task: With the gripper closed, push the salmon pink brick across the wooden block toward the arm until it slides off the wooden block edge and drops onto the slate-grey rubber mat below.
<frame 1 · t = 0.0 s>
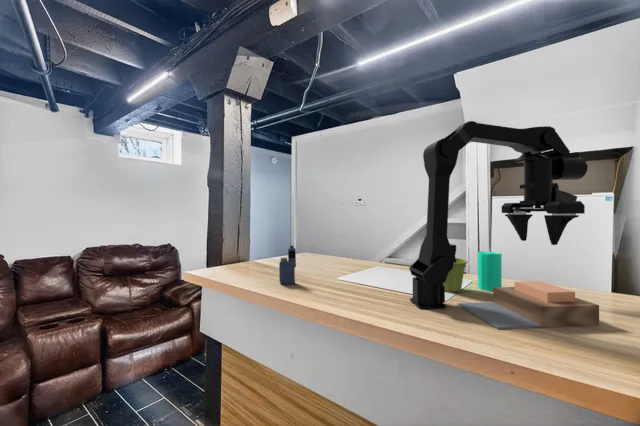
hand: (538, 242, 71), 15 cm above the counter, tool pointing down, fingers open, 9 cm apart
plant pot: (449, 290, 82), on the counter
wooden block: (540, 313, 63), on the counter
candle: (489, 289, 83), on the counter
salmon pink brick: (542, 295, 63), point 4 cm above the counter, touching wooden block
mat: (494, 314, 62), on the counter
vaping device: (287, 284, 90), on the counter
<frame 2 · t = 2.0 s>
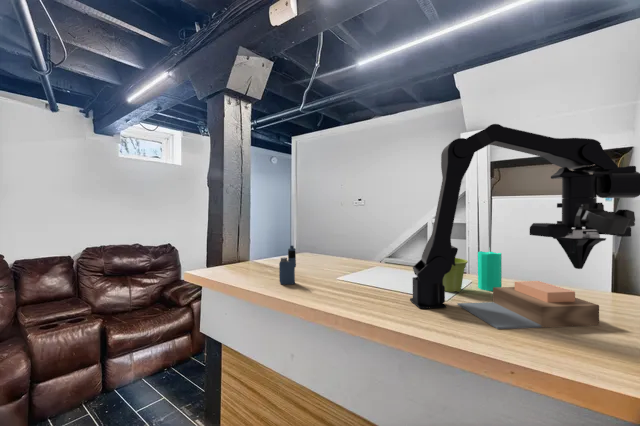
hand: (578, 268, 63), 10 cm above the counter, tool pointing down, fingers closed
nothing on the counter moved.
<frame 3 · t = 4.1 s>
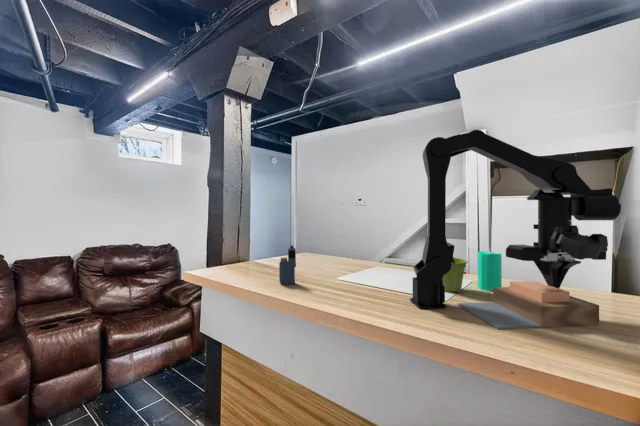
hand: (554, 290, 63), 5 cm above the counter, tool pointing down, fingers closed
salmon pink brick: (537, 295, 63), point 4 cm above the counter, touching gripper
everything else where it was.
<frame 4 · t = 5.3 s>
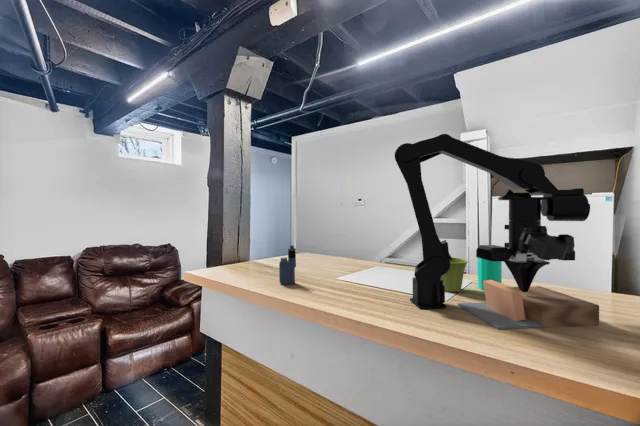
hand: (523, 291, 62), 5 cm above the counter, tool pointing down, fingers closed
salmon pink brick: (507, 298, 62), point 4 cm above the counter, tilted 99°, touching mat
everything else where it was.
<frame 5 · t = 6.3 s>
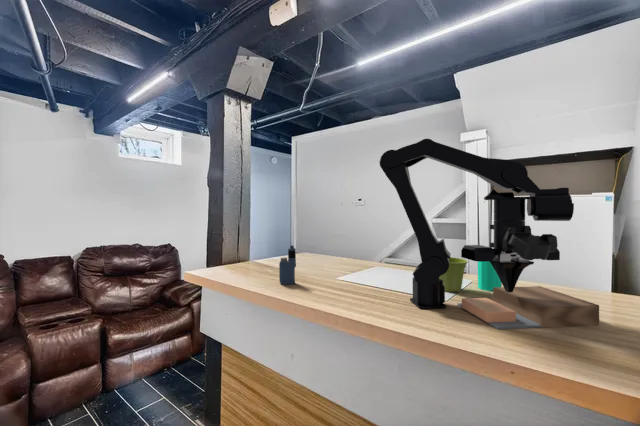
hand: (508, 291, 62), 5 cm above the counter, tool pointing down, fingers closed
salmon pink brick: (486, 304, 62), point 2 cm above the counter, tilted 180°, touching mat
everything else where it was.
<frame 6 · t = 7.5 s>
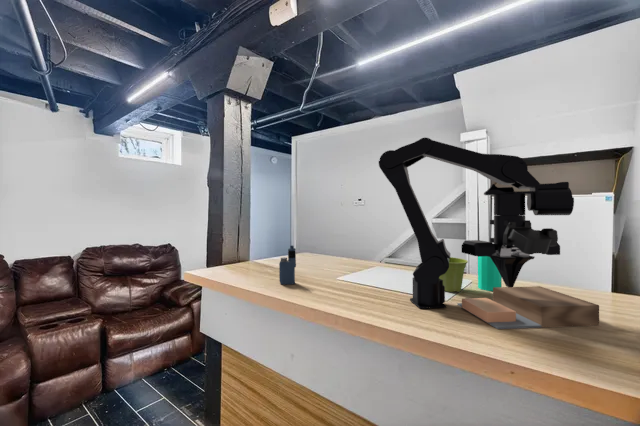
hand: (509, 286, 62), 6 cm above the counter, tool pointing down, fingers closed
nothing on the counter moved.
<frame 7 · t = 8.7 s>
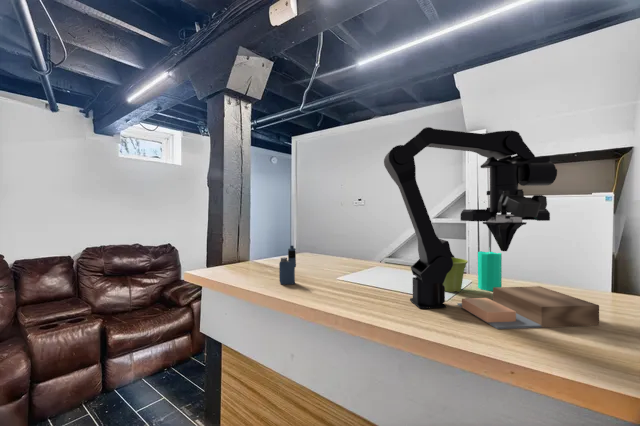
hand: (504, 251, 68), 13 cm above the counter, tool pointing down, fingers closed
nothing on the counter moved.
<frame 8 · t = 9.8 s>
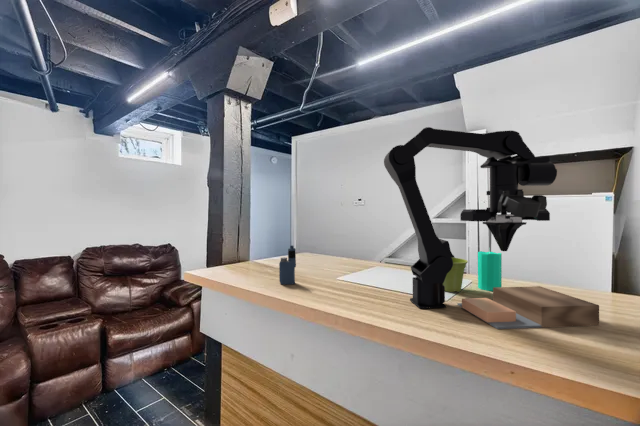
hand: (503, 251, 68), 13 cm above the counter, tool pointing down, fingers closed
nothing on the counter moved.
at the end: salmon pink brick point 2.4 cm above the counter; salmon pink brick inside the target area on the mat (2.0 cm from its centre), point 2.4 cm above the mat's base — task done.
